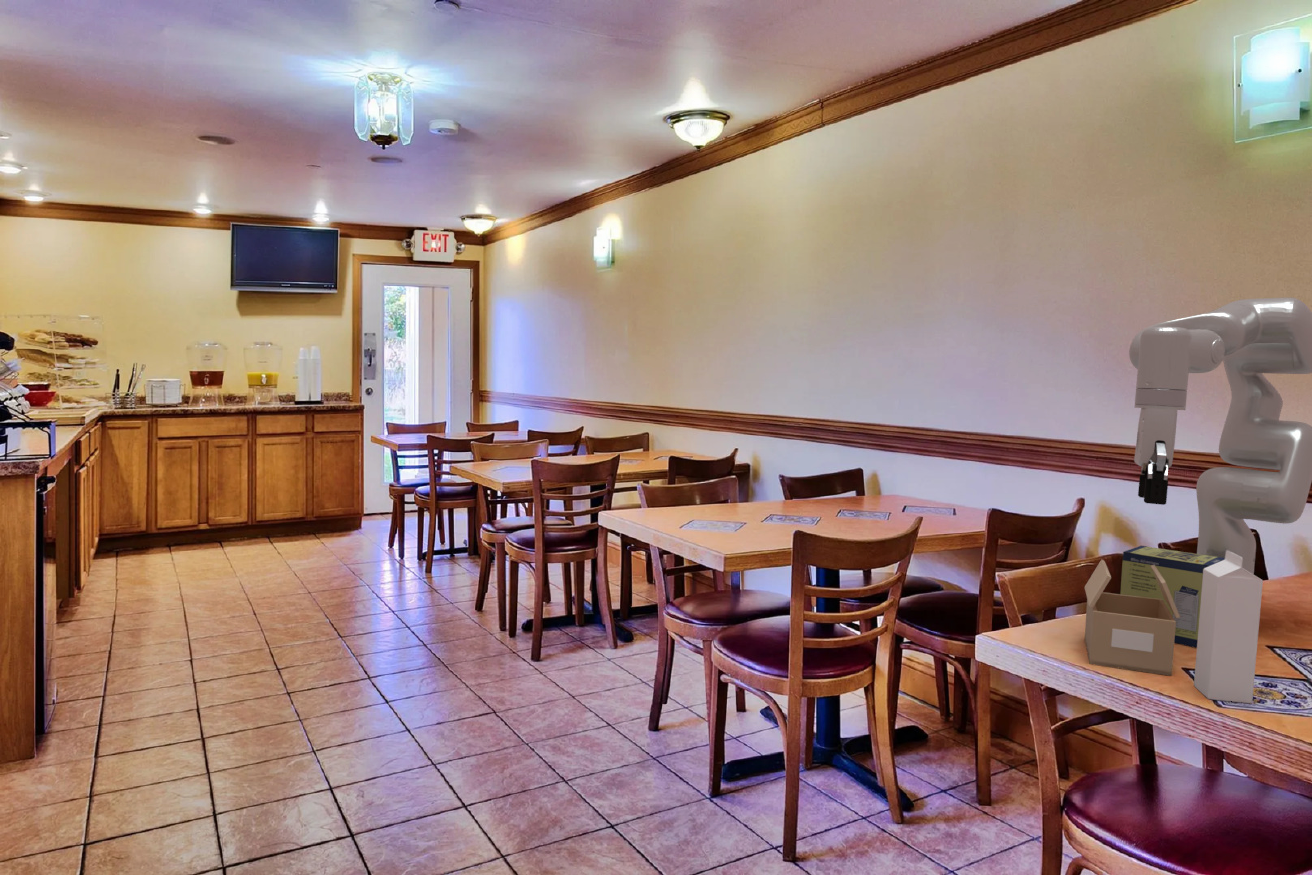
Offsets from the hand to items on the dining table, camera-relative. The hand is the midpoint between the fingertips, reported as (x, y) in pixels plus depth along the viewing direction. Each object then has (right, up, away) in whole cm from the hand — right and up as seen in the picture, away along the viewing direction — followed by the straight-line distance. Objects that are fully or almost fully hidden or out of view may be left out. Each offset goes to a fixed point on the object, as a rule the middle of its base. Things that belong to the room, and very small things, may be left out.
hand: (1151, 500), depth 148 cm
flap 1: (-9, -18, +5) cm, 20 cm away
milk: (+3, -29, -15) cm, 33 cm away
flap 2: (+3, -18, 0) cm, 19 cm away
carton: (-3, -27, +3) cm, 28 cm away
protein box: (+13, -27, +17) cm, 34 cm away
